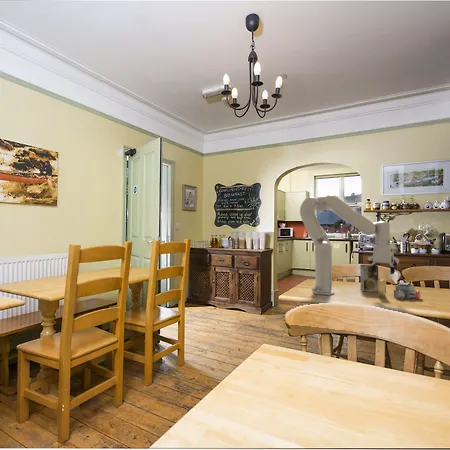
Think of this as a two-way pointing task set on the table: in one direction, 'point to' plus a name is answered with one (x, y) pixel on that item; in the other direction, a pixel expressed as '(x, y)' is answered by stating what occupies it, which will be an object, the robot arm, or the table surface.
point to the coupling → (381, 288)
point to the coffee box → (368, 278)
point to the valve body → (406, 292)
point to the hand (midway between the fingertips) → (383, 272)
